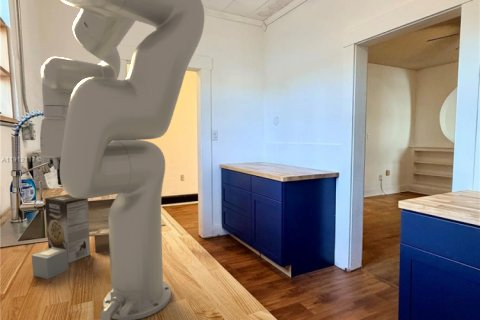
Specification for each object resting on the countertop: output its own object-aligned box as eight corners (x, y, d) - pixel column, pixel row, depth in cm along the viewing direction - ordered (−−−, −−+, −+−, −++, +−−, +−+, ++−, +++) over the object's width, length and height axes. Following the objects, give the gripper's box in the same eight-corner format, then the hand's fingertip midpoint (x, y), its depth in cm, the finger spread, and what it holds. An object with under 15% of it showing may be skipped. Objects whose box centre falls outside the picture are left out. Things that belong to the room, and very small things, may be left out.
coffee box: (47, 256, 75) (43, 197, 74) (71, 248, 81) (68, 193, 79) (67, 264, 71) (64, 201, 69) (91, 254, 77) (88, 196, 75)
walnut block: (114, 250, 79) (113, 233, 79) (95, 252, 78) (94, 234, 78) (117, 244, 84) (116, 227, 84) (99, 245, 83) (98, 228, 83)
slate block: (48, 279, 64) (46, 258, 63) (33, 275, 65) (31, 254, 65) (68, 269, 68) (67, 249, 68) (54, 266, 70) (52, 246, 70)
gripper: (97, 115, 75) (100, 182, 77) (45, 115, 77) (49, 181, 79) (78, 113, 68) (82, 187, 70) (22, 113, 69) (27, 186, 71)
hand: (65, 183), depth 74 cm, fingers closed
